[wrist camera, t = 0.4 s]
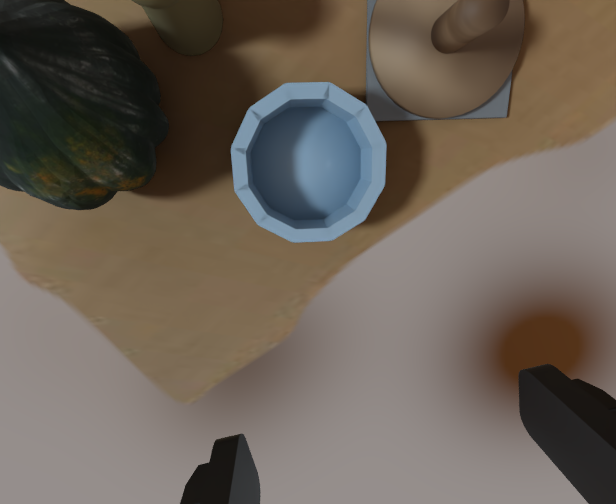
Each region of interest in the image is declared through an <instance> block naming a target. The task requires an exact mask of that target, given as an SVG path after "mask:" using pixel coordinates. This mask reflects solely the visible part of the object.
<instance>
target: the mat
mask: <svg viewBox="0 0 616 504" xmlns="http://www.w3.org/2000/svg"><path fill="white" fill-rule="evenodd" d="M375 3H376V0H367V60H366V106H368V108H369V110H370V112H371V114H372V116H373V118H374V120H375V121H403V120H440V119H428V118H423V117H419V116H416V115H413V114H411V113H409V112H407V111H405V110H403V109H402V108H400V107H399V106H398V105H396V104H395V103H394V102H393V101H392V100H391V99H390V98H389V97H388V96H387V95H386V93H385V92H384V91H383V89H382V88H381V86H380V84H379V82H378V81H377V78H376V76H375V74H374V71H373V68H372V64H371V60H370V54H369V42H368V37H369V25H370V20H371V15H372V12H373V8H374V5H375ZM511 77H512V71H511V72H510V74H509V76H508V77H507V79H506V80H505V82H504V83H503V85H502V86H501V87H500V88H499V89H498V90H497V92H496V93H495V94H494V95H493V96H491V97H490V98H489V99H488V100H487V101H486V102H484V103H483V104H481V105H480V106H479V107H477V108H475V109H473V110H471V111H469V112H466V113H464V114H461V115H457V116H453V117H449V118H442V119H477V118H504V117H507V110H508V101H509V93H510V85H511Z"/></svg>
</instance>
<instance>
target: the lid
mask: <svg viewBox="0 0 616 504" xmlns="http://www.w3.org/2000/svg"><path fill="white" fill-rule="evenodd" d="M524 24H525V16H524V5H523V0H376V3H375V5H374V8H373V12H372V15H371V20H370V25H369V37H368V42H369V54H370V60H371V64H372V68H373V71H374V74H375V76H376V78H377V81H378V82H379V84H380V86H381V88H382V89H383V91H384V92H385V93H386V95H387V96H388V97H389V98H390V99H391V100H392V101H393V102H394V103H395V104H396V105H398V106H399V107H400V108H402V109H403V110H405V111H407V112H409V113H411V114H413V115H416V116H419V117H423V118H428V119H442V118H449V117H453V116H457V115H461V114H464V113H466V112H469V111H471V110H473V109H475V108H477V107H479V106H480V105H481V104H483V103H484V102H486V101H487V100H488V99H489V98H490V97H491V96H493V95H494V94H495V93H496V92H497V90H498V89H499V88H500V87H501V86H502V85H503V83H504V82H505V80H506V79H507V77H508V76H509V74H510V72H511V71H512V69H513V67H514V65H515V62H516V60H517V58H518V55H519V52H520V48H521V45H522V40H523V35H524Z"/></svg>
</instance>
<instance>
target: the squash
mask: <svg viewBox="0 0 616 504" xmlns="http://www.w3.org/2000/svg"><path fill="white" fill-rule="evenodd" d="M160 97H161V95H160V90H159V86H158V82H157V80H156V77H155V75H154V74H153V73H152V71H151V70H150V69H149V68H148V67H147V66H146V65H145V64H144V63H143V62H142V61H141V60H140V57H139V54H138V52H137V50H136V48H135V46H134V45H133V43H132V41H131V40H130V39H129V37H128V36H126V35H125V34H124V33H123V32H122V31H121V30H119V29H118V28H117V27H115V26H114V25H113V24H111V23H110V22H108V21H107V20H106V19H104V18H102V17H101V16H99V15H97V14H95V13H93V12H90V11H87V10H85V9H82V8H79V7H76V6H73V5H70V4H69V3H67V2H66V1H64V0H0V185H1V186H3V187H5V188H8V189H11V190H16V191H24V192H26V193H27V194H29V195H30V196H33V197H36V198H38V199H41V200H43V201H46V202H48V203H50V204H52V205H55V206H57V207H61V208H65V209H74V210H89V209H94V208H97V207H99V206H101V205H104V204H105V203H107V202H108V201H109V200H111V199H112V198H113V196H114V195H115V194H116V193H117V191H129V190H133V189H136V188H139V187H142V186H144V185H146V184H147V183H148V182H149V181H150V180H151V178H152V177H153V176H154V173H155V171H156V153H155V147H156V146H158V145H159V144H160V143H161V142H162V141H163V140H164V139H165V138H166V136H167V134H168V129H169V123H168V119H167V118H166V116H165V114H164V113H163V111H162V110H161V109H160V107H159V106H158V105H159V103H160Z"/></svg>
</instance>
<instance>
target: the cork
mask: <svg viewBox="0 0 616 504" xmlns="http://www.w3.org/2000/svg"><path fill="white" fill-rule="evenodd" d="M132 1H134V2H135V3H137V4H139V5H141V6H142V7H143V9H144V10H145V12H146V14H147V15H148V17H149V19H150V20H151V22H152V24H153V25H154V27H155V29H156V30H157V32H158V34H159V35H160V37H161V39H162V40H163V41H164V42H165V43H166V44H167V45H168V46H169V47H170V48H171V49H173V50H175V51H177V52H178V53H180V54H185V55H189V56H193V55H201V54H203V53H205V52H207V51H209V50H210V49H211V48H212V47H213V46H214V45H215V44H216V43H217V41H218V39H219V37H220V34H221V32H222V24H223V17H222V11H221V6H220V4H219V2H218V0H132Z"/></svg>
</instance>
